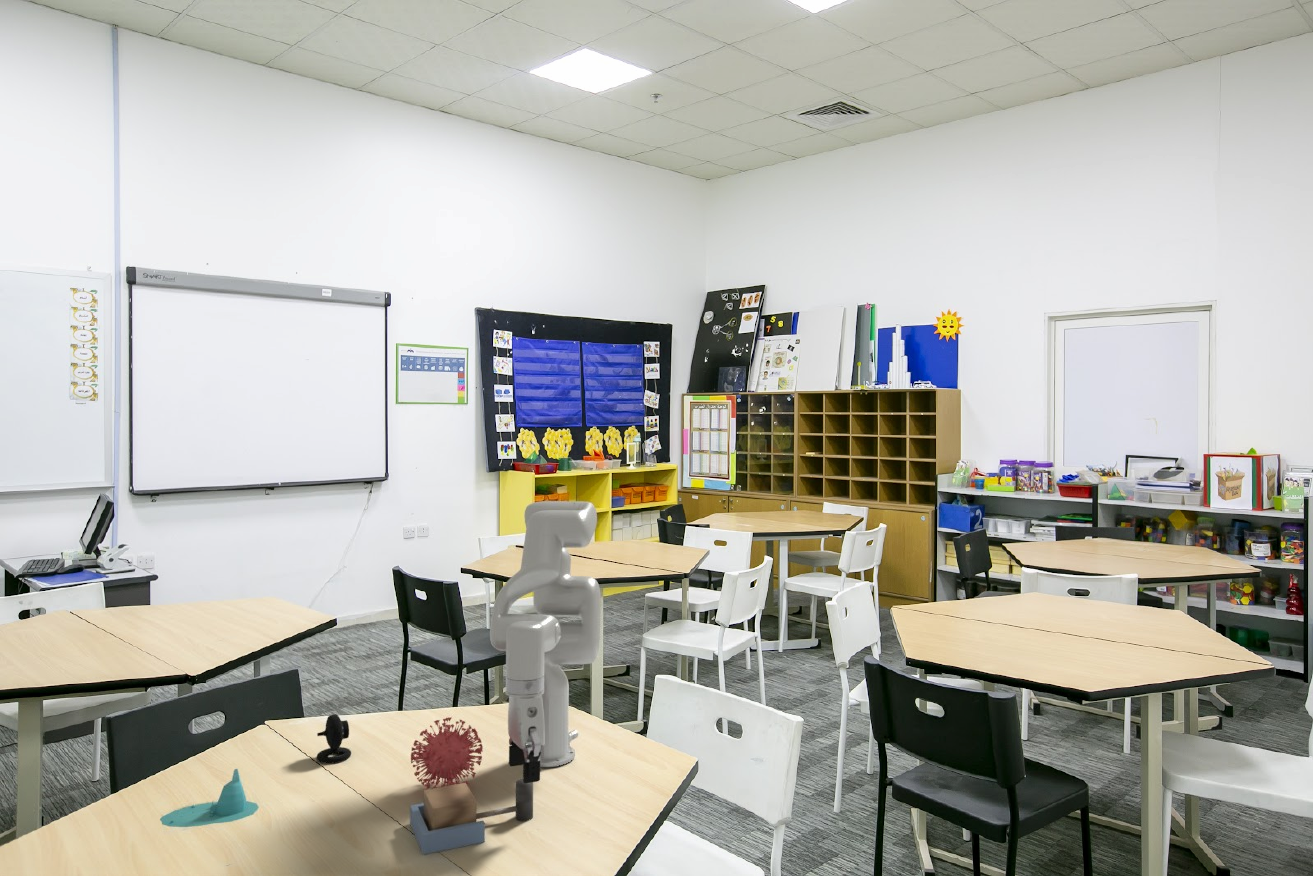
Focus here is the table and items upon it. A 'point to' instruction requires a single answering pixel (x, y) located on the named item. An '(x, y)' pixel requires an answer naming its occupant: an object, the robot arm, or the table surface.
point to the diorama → (214, 808)
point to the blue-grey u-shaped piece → (444, 833)
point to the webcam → (334, 740)
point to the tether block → (469, 805)
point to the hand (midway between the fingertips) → (524, 773)
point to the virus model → (446, 754)
